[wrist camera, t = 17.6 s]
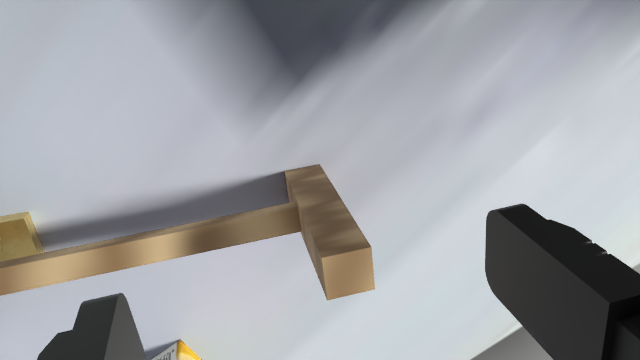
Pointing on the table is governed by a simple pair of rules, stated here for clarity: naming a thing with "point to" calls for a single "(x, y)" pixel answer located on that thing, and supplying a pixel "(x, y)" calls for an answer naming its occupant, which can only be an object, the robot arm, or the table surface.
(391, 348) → the table surface
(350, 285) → the oak rake
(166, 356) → the blue yellow food box
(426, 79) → the table surface
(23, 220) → the brass token
